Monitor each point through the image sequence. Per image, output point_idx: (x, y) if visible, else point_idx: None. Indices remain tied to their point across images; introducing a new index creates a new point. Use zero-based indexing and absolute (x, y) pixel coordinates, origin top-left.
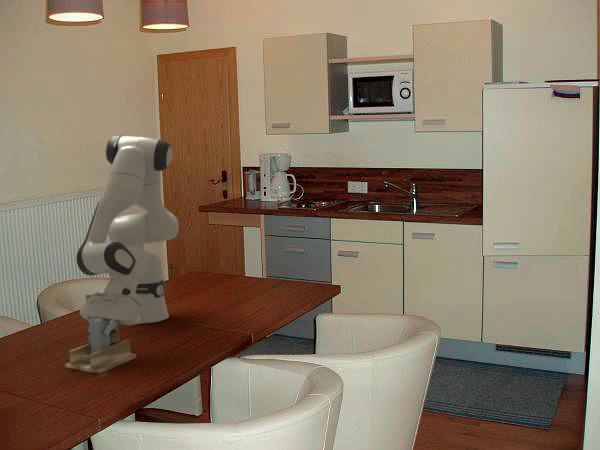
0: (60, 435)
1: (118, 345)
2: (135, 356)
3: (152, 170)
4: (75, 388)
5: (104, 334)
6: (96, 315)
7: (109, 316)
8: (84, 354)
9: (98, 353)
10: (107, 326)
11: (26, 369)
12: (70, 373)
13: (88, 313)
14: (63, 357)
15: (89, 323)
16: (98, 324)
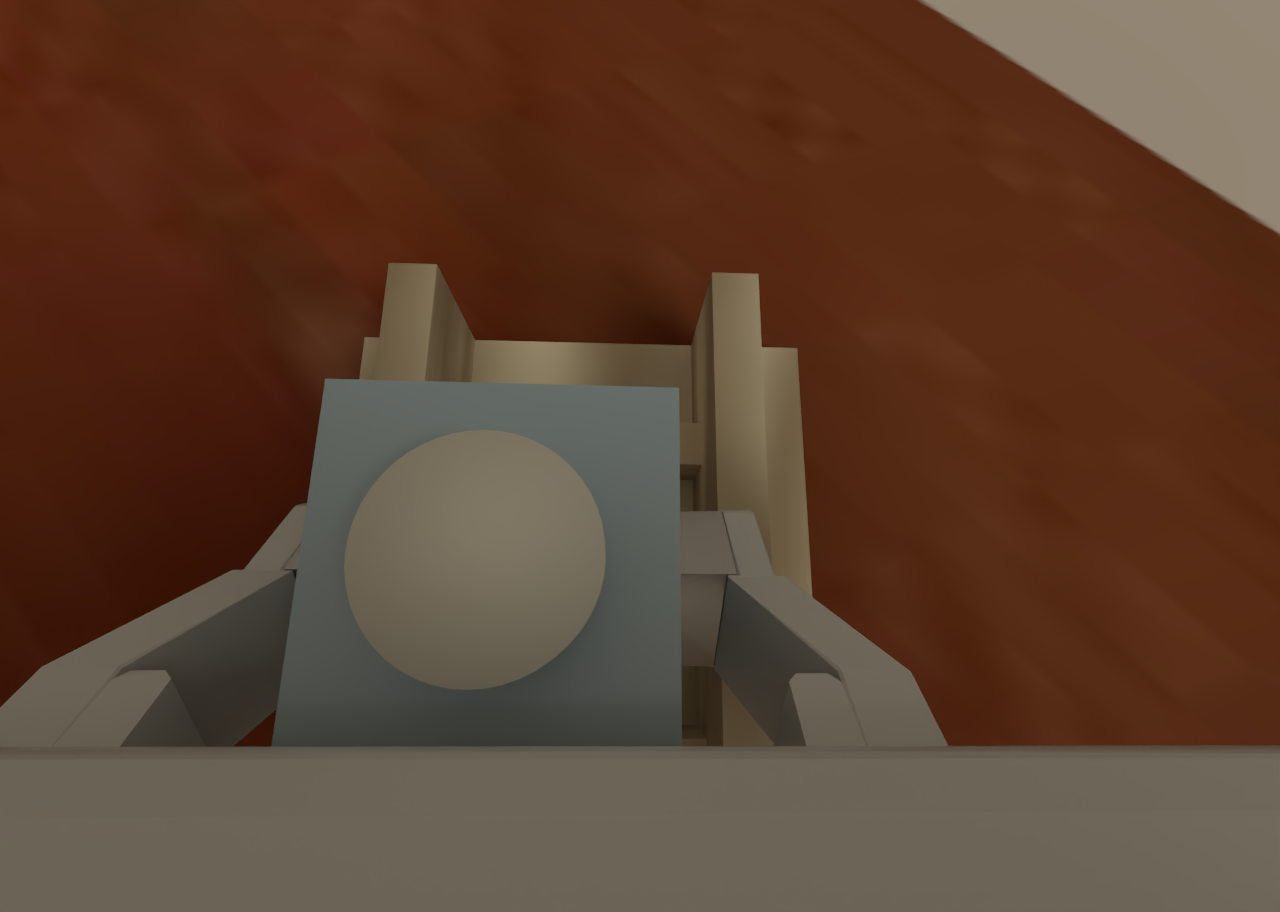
0: None
1: None
2: None
3: None
4: (355, 68)
5: None
6: (749, 764)
7: (48, 793)
8: (701, 474)
9: (381, 355)
10: (245, 591)
11: (1030, 216)
12: (627, 272)
13: (1201, 797)
14: (1034, 560)
15: (665, 394)
16: (344, 382)
